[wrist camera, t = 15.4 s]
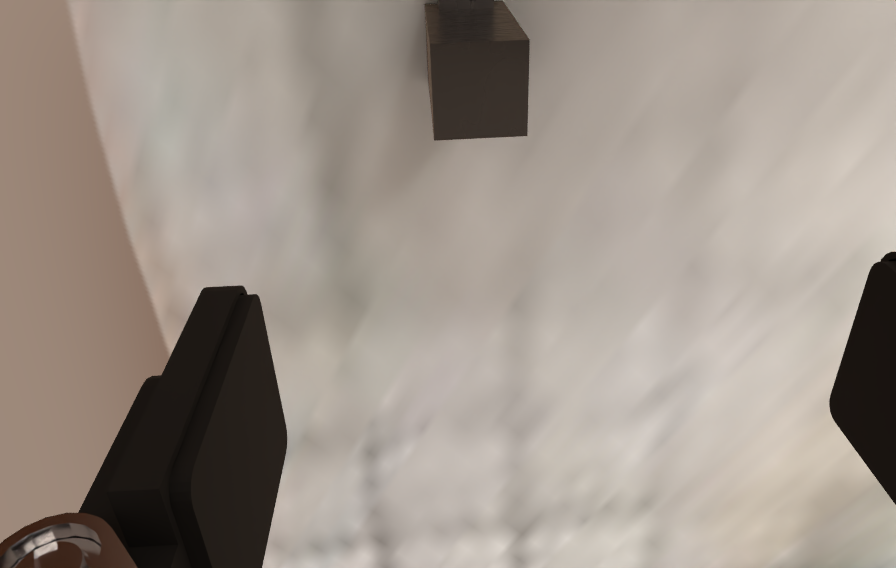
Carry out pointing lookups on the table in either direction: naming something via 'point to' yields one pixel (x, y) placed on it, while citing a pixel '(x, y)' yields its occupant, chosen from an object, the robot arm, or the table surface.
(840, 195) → the table surface
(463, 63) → the hook tool
